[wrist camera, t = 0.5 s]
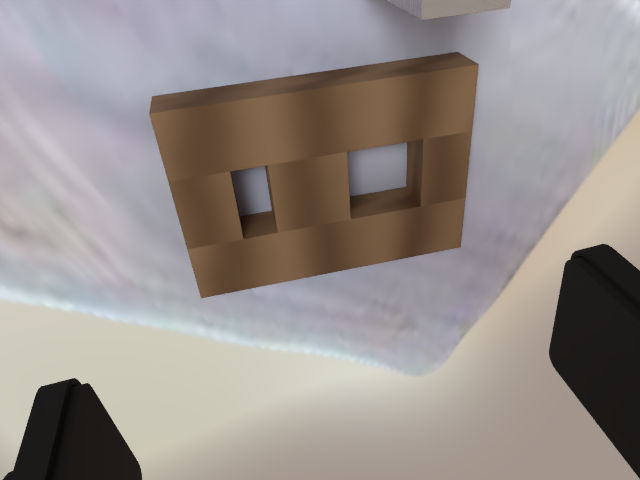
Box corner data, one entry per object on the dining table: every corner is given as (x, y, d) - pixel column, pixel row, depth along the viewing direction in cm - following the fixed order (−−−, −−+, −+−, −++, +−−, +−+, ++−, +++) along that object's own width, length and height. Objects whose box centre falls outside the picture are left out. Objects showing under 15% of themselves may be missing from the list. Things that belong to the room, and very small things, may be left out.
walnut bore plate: (457, 52, 34) (478, 64, 32) (444, 226, 42) (460, 247, 40) (152, 96, 32) (149, 113, 29) (200, 273, 40) (201, 298, 37)
